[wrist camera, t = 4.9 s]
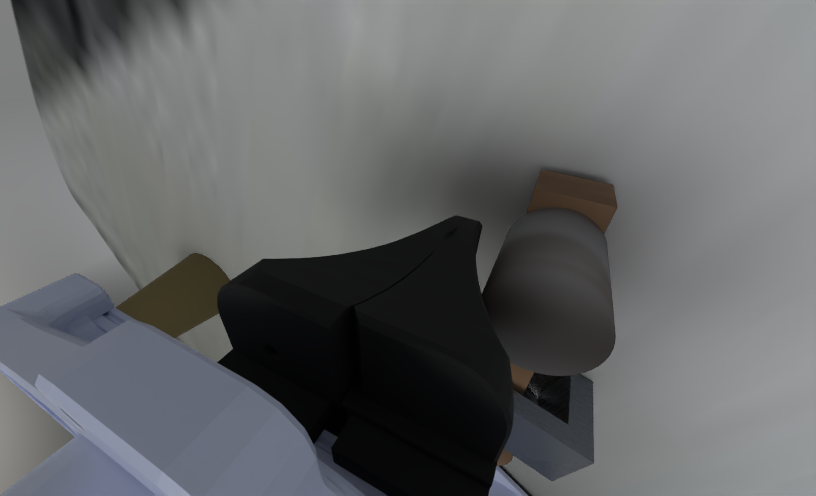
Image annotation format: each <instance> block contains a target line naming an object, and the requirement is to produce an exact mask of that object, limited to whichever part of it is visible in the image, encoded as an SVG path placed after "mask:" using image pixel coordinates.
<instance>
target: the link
mask: <svg viewBox="0 0 816 496" xmlns="http://www.w3.org/2000/svg"><path fill="white" fill-rule="evenodd" d="M616 209H617V203H616V197H615V191H614V186H613V185H612V184H607V183H602V182H598V181H593V180H589V179H584V178H579V177H575V176H570V175H565V174H561V173H556V172H551V171H547V170H541V172H540V175H539V178H538V180H537V183H536V186H535V188H534V191H533V194H532V198H531V201H530V204H529V207H528V210H527V213H526V214H525V215H523V216H522V217H521V218H519V219H518V220H517V221H516V222H515V223H514V224H513V225H512V227H511V228H510V230H509V232H508V234H507V236H506V239H505V241H504V243H503V246H502V248H501V250H500V253H499V255H498V258H497V260H496V262H495V265H494V267H493V269H492V272H491V274H490V276H489V279H488V281H487V283H486V286H485V288H484V290H483V293H482V298H483V301H484V304H485V307H486V310H487V312H488V315H489V318H490V321H491V323H492V325H493V327H494V330H495V332H496V334H497V336H498V338H499V340H500V342H501V344H502V346H503V347H504V349H505V351H506V353H507V354H508V356H509V358H510V366H511V374H512V383H513V390H515V391H516V392H518V393H519V394H521V395H523V393H524V391H525V389H526V387H527V386H528V384H529V382H530V380H531V378H532V376H533V374H534V372H535V373H540V374H545V375H553V376H568V375H576V374H581V373H584V372H587V371H590V370H592V369H594V368H596V367H598V366H599V365H601V364H602V363H603V362H604V361H605V360H606V359H607V358H608V357H609V356H610V354H611V352H612V350H613V348H614V345H615V337H616V335H615V324H614V314H613V303H612V292H611V281H610V270H609V260H608V249H607V242H606V238H605V236H604V233H605V231H606V229H607V227H608V225H609V223H610V221H611V219H612V217H613V215H614V213H615V211H616ZM512 457H513V455H512V454H511V453H509V452H508V451H506V450H505V449H503V451H502V453H501V455H500V457H499V459H498V462H497V466H501V465H505V464H508V463H509V462H510V461H511V460H512Z"/></svg>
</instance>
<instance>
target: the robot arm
mask: <svg viewBox="0 0 816 496" xmlns="http://www.w3.org/2000/svg"><path fill="white" fill-rule="evenodd" d="M481 229H482V224H481V223H480V222H479V221H475V220H472V219H468V218H464V217H460V216H453V217H451V218H448V219H446V220H444V221H442V222H440V223H438V224H436V225H434V226H432V227H429V228H427V229H425V230H423V231H421V232H418V233H416V234H413V235H410V236H408V237H405V238H403V239H400V240H398V241H395V242H392V243H389V244H385V245H382V246H378V247H374V248H370V249H366V250H361V251H356V252H350V253H345V254H339V255H331V256H323V257H311V258H289V259H262V260H261V261H259V262H258V263H256V264H255V265H253V266H252V267H250V268H249V269H247V270H246V271H244V272H243V273H241V274H240V275H238V276H237V277H235V278H234V279H232V280H231V281H229V282H228V283H226V284H225V285H223V286H222V287H221V288H220V290H219V292H218V295H217V307H218V310H219V314H220V317H221V319H222V322H223V324H224V327H225V329H226V332H227V334H228V337H229V339H230V342H231V344H232V347H233V349H232V350H231V351H230V352H229V353H228V354H227V355H226V356H224V357H223V358H222V359H221V360H220V361H219V362H215V361H213V360H211V359H210V358H208V357H206V356H204V355H203V354H201V353H199V352H197V351H196V350H194V349H192V348H191V347H189V346H187V345H185V344H184V343H182V342H180V341H178V340H177V339H175V338H173V337H171V336H170V335H168V334H166V333H164V332H163V331H161V330H159V329H157V328H156V327H154V326H152V325H149V324H146V323H143V322H140V321H137V320H135V319H134V318H132V317H130V316H128V315H127V314H125V313H123V312H122V311H120V310H118V309H116V308H115V307H114V303H113V302H112V300H111V298H110V297H109V295H108V294H107V293H106V291H105V290H104V289H103V288H102V287H101V286H99V285H98V284H97V283H95V282H93V281H91V280H89V279H88V278H86V277H84V276H82V275H80V274H76V273H75V274H72V275H70V276H67V277H65V278H63V279H61V280H59V281H56V282H54V283H52V284H50V285H47V286H45V287H43V288H41V289H38V290H36V291H34V292H32V293H30V294H27V295H25V296H23V297H21V298H18V299H16V300H14V301H12V302H9V303H7V304H5V305H3V306H1V307H0V371H1V372H2V373H3V374H4V375H5V376H6V377H7V378H8V379H9V380H11V381H12V382H13V383H14V384H15V385H16V386H17V387H18V388H20V389H21V390H22V391H23V392H24V393H25V394H27V395H28V396H29V397H30V398H31V399H32V400H33V401H34V402H36V403H37V404H38V405H39V406H40V407H41V408H43V409H44V410H45V411H46V412H47V413H48V414H49V415H51V416H52V417H53V418H54V419H55V420H56V421H57V422H59V423H60V424H61V425H62V426H63V427H64V428H65V429H67V430H68V431H69V432H70V433H71V434H72V435H74V436H75V438H73V439H72V440H71V441H70V442H68V443H67V444H66V445H65V446H63V447H62V448H61V449H59V450H58V451H57V452H55V453H54V454H53V455H51V456H50V457H49V458H47V459H46V460H45V461H44V462H42V463H41V464H40V465H38V466H37V467H36V468H34V469H33V470H32V471H31V472H29V473H28V474H27V475H25V476H24V477H23V478H21V479H20V480H19V481H17V482H16V483H15V484H14V485H12V486H11V487H10V488H8V489H7V490H6V491H4V492H3V493H2V494H1V495H0V496H528V495H527V494H526V493H525V492H524V491H523V490H522V489H521V488H520V487H519V486H518V485H517V484H516V483H515V482H514V481H513V480H512V479H511V478H510V477H509V476H508V475H507V474H506V473H505V472H504V471H503V470H502V469H501V468H500V467H499V466H497V462H498V459H499V457H500V455H501V453H502V451H503V449H504V447H505V445H506V443H507V441H508V439H509V436H510V434H511V430H512V426H513V416H514V395H513V383H512V374H511V366H510V358H509V356H508V354H507V353H506V351H505V349H504V347H503V346H502V344H501V342H500V340H499V338H498V336H497V334H496V332H495V330H494V327H493V325H492V323H491V321H490V318H489V315H488V312H487V310H486V307H485V304H484V301H483V298H482V294H481V290H480V286H479V281H478V276H477V268H476V252H477V248H478V243H479V239H480V234H481Z"/></svg>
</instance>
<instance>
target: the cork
mask: <svg viewBox="0 0 816 496" xmlns="http://www.w3.org/2000/svg"><path fill="white" fill-rule="evenodd" d="M229 281H230V280H229V279H228V277H227V276H226V274H225V273H224V272H223V271H222V270H221V269H220V268H219V267H218V266H217V265H216V264H215V263H214V262H213V261H211V260H210V259H209V258H207V257H205V256H203V255H201V254H197V253H195V254H191V255H189V256H188V257H187V258H185V259H184V260H182V261H181V262H179V263H178V264H177V265H175V266H174V267H172V268H171V269H170V270H168V271H167V272H165V273H164V274H162V275H161V276H160V277H158V278H157V279H155V280H154V281H153V282H151V283H150V284H148V285H147V286H145V287H144V288H143V289H141V290H140V291H138V292H137V293H136V294H134V295H133V296H131V297H130V298H128V299H127V300H126V301H124V302H123V303H121V304H120V305H119V306H117V307H116V309H118V310H120V311H122V312H123V313H125V314H127V315H128V316H130V317H132V318H134V319H135V320H137V321H140V322H143V323H146V324H149V325H152V326H154V327H156V328H157V329H159V330H161V331H163V332H164V333H166V334H168V335H170V336H171V337H173V338H176V337H178V336H179V335H181V334H183V333H185V332H187V331H188V330H190V329H192V328H194V327H195V326H197V325H199V324H201V323H203V322H204V321H206V320H208V319H210V318H211V317H213V316H215V315H217V314H219V310H218V307H217V295H218V292H219V290H220V288H221V287H222V286H223V285H225V284H226V283H228V282H229Z"/></svg>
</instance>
